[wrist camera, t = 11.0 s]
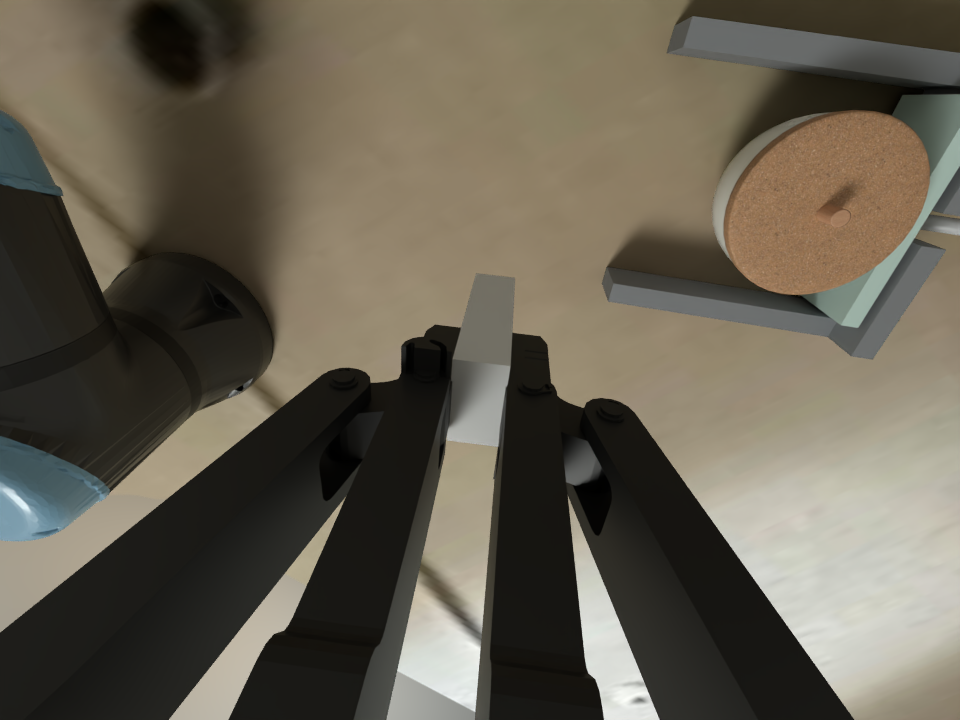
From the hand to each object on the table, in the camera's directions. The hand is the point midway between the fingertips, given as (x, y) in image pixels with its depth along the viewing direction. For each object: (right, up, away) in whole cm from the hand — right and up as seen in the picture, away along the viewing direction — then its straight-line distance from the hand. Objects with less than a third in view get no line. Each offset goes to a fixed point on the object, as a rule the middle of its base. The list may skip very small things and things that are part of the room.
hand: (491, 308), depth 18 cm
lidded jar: (+21, +11, +16) cm, 29 cm away
